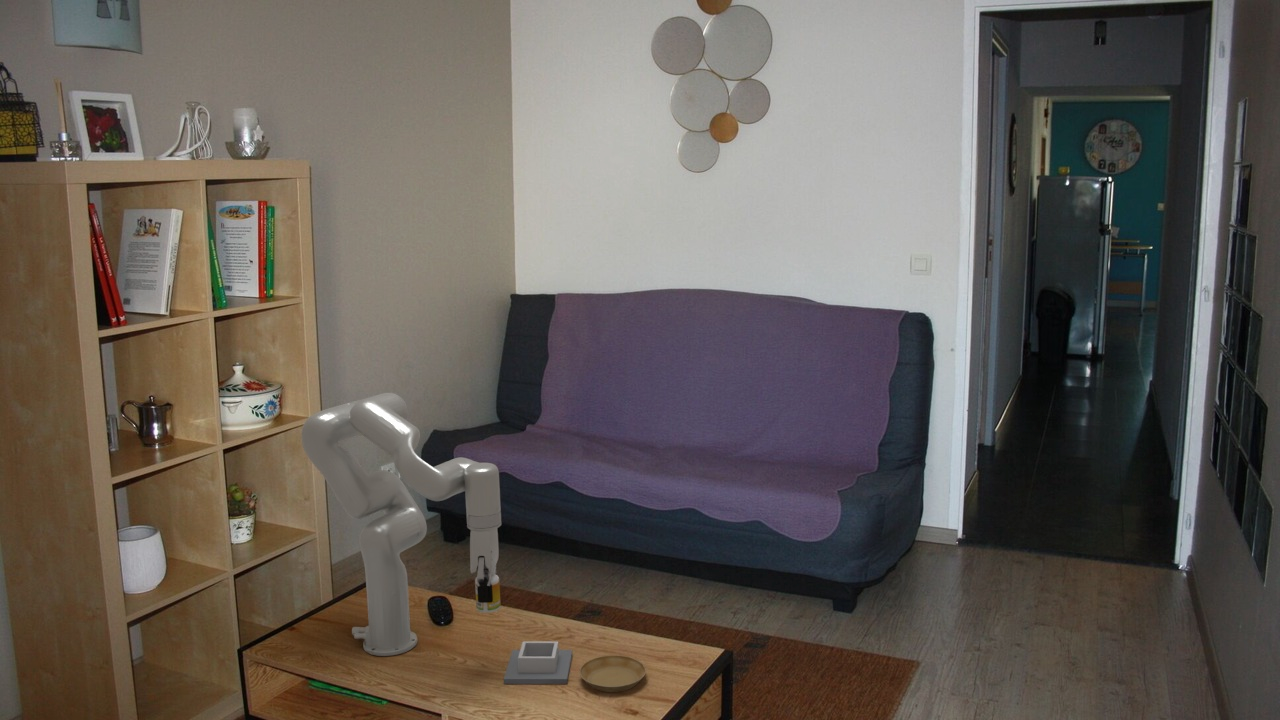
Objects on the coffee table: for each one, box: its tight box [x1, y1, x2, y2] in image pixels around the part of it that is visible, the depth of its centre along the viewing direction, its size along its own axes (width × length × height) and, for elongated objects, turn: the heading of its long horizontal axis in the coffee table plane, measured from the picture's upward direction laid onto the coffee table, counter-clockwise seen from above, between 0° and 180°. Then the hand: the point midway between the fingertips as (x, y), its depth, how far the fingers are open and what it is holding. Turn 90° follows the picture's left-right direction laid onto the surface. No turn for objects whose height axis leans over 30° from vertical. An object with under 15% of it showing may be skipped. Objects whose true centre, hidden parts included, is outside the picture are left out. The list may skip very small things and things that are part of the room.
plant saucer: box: [578, 654, 647, 693], centre depth 228 cm, size 15×15×3 cm
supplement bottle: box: [474, 568, 501, 614], centre depth 230 cm, size 5×5×10 cm
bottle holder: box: [503, 640, 573, 685], centre depth 233 cm, size 14×14×5 cm
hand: (488, 595), depth 230 cm, fingers closed on supplement bottle, 5 cm apart
